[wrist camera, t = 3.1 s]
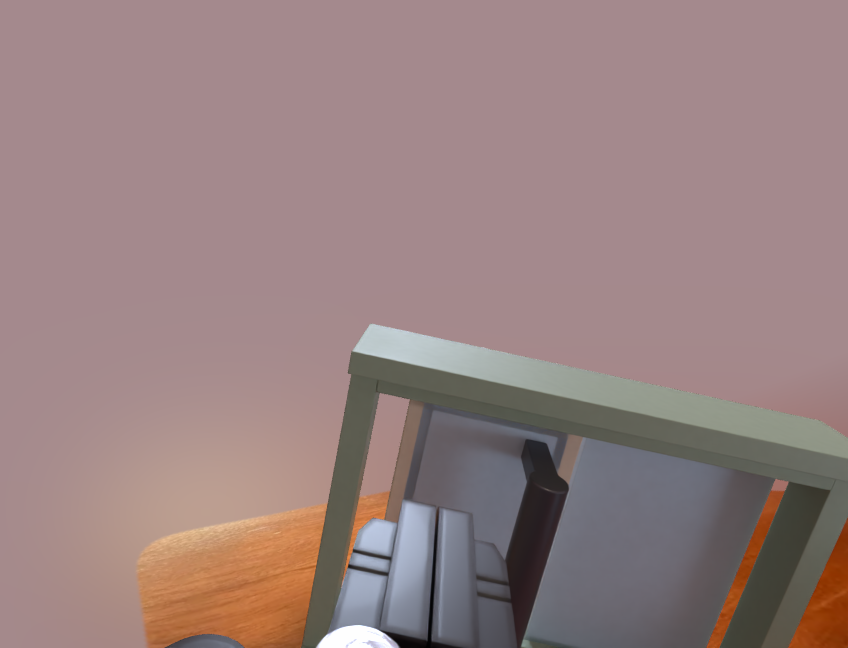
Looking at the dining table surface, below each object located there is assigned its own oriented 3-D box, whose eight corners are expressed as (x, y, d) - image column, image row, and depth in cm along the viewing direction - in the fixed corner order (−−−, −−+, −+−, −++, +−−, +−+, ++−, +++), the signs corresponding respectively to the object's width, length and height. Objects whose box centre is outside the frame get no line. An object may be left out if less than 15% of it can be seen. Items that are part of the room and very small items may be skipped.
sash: (522, 754, 23) (616, 467, 20) (342, 713, 23) (404, 421, 20) (511, 658, 28) (585, 414, 24) (361, 625, 28) (414, 377, 25)
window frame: (759, 803, 25) (916, 479, 21) (286, 697, 25) (347, 356, 21) (699, 681, 31) (810, 413, 27) (320, 597, 31) (372, 319, 27)
